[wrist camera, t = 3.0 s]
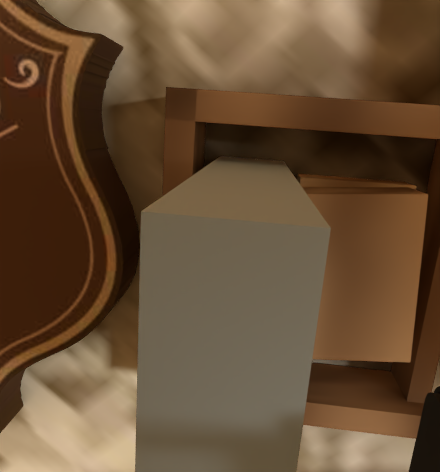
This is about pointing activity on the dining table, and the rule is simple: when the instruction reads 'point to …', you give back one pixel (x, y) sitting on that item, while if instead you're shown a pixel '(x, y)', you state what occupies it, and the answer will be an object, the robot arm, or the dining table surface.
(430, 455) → the robot arm
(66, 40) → the decorative plaque
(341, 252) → the offcut top
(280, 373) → the panel
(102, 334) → the dining table surface
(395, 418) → the square wooden tray
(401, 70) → the dining table surface
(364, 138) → the dining table surface
